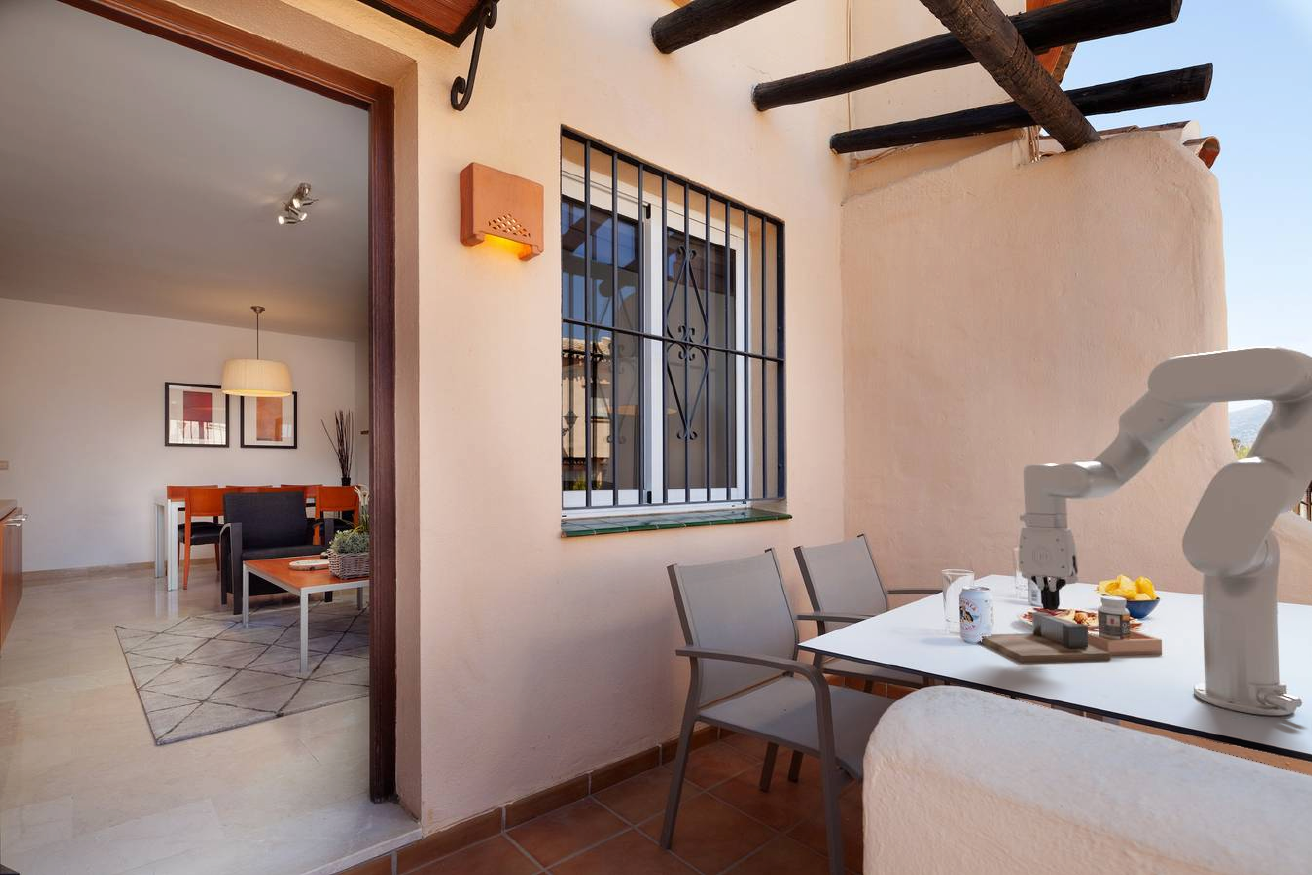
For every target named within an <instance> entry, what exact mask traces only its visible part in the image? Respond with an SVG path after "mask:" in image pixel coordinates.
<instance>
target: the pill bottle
mask: <svg viewBox="0 0 1312 875" xmlns="http://www.w3.org/2000/svg"><path fill="white" fill-rule="evenodd" d="M1100 602H1101V605H1100V606H1099V607H1098V609H1097V610H1098V611H1097V617H1098V620H1097V621H1098V625H1099V636H1100V637H1103V638H1105V639H1108V640H1120V639H1131V638H1130V629H1131V613H1130V611H1129V609H1128V608H1127V607H1126V606H1127V598H1125V597H1123V596H1117V595H1101V596H1100Z"/></svg>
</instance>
